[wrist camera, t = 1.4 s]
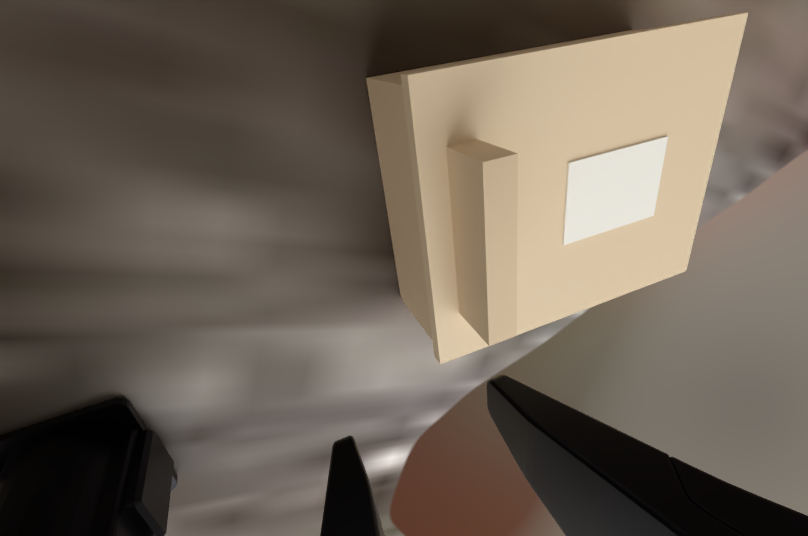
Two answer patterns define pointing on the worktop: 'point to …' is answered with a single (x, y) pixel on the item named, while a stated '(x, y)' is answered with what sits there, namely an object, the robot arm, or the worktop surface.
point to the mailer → (407, 181)
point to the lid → (562, 174)
